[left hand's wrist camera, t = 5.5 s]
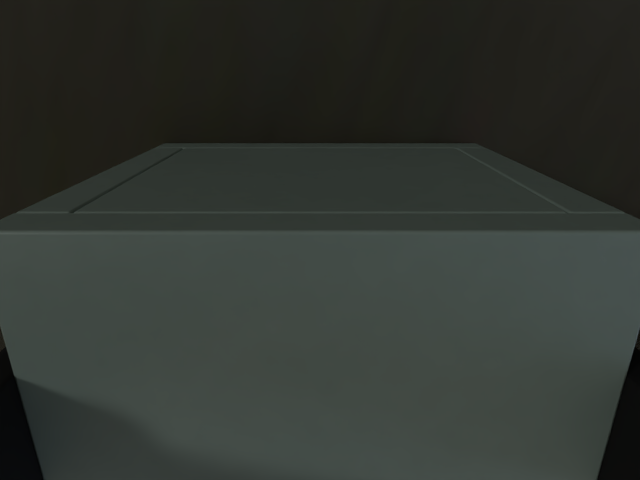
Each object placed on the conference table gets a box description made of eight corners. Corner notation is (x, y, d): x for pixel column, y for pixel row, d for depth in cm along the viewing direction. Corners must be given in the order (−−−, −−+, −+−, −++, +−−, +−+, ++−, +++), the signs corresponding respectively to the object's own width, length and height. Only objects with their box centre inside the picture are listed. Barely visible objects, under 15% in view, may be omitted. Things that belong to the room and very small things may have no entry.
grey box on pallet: (435, 496, 23) (513, 784, 14) (204, 496, 23) (127, 784, 14) (477, 143, 17) (669, 231, 7) (162, 142, 17) (-29, 230, 7)
